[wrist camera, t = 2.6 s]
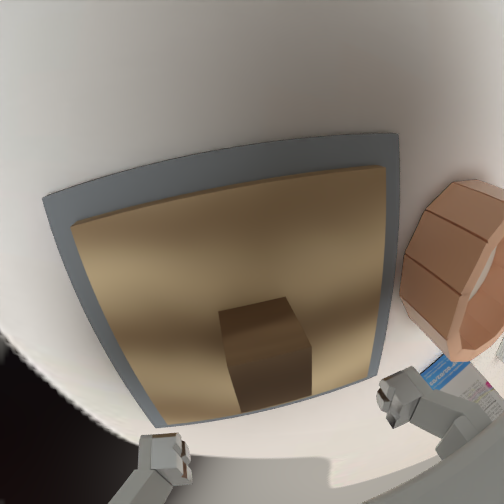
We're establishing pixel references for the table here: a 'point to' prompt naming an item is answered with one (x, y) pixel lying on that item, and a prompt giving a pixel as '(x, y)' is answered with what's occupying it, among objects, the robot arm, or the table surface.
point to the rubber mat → (212, 176)
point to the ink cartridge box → (501, 351)
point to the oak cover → (243, 289)
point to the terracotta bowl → (458, 270)
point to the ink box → (464, 384)
